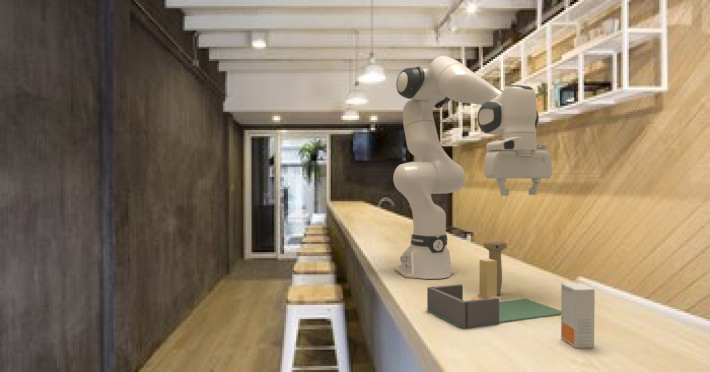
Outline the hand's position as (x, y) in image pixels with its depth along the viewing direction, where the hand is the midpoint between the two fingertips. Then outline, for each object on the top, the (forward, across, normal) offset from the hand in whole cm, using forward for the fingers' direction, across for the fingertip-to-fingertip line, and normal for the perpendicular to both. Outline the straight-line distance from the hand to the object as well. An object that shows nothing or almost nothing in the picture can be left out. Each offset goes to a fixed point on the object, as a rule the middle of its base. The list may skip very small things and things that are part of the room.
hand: (518, 195), depth 138 cm
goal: (+29, +22, +7) cm, 37 cm away
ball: (+27, +18, +7) cm, 33 cm away
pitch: (+29, +12, +7) cm, 32 cm away
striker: (+29, +15, +7) cm, 33 cm away
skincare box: (+29, +11, +32) cm, 45 cm away
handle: (+29, +1, -9) cm, 31 cm away
